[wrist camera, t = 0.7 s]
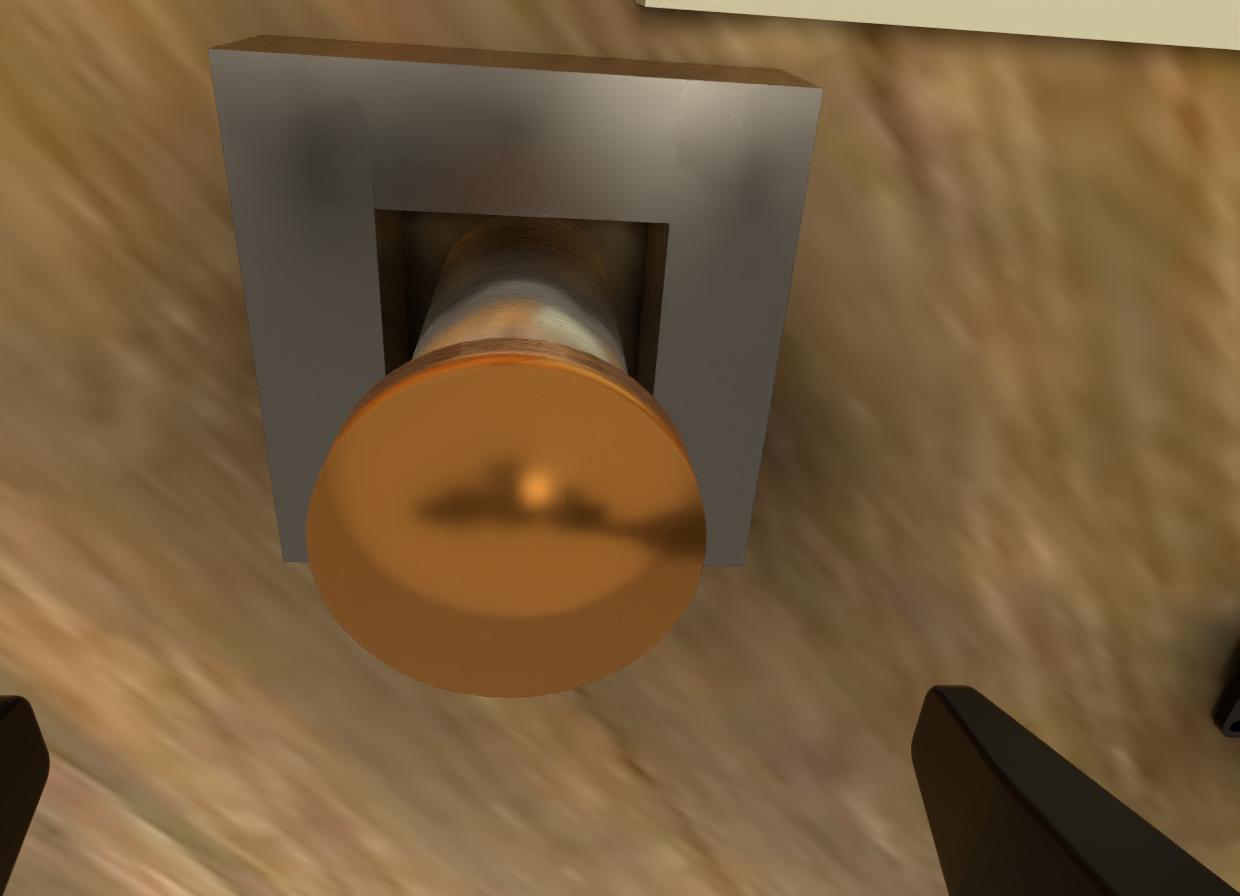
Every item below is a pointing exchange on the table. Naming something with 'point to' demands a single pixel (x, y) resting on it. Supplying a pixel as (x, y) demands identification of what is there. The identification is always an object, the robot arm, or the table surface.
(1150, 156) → the table surface
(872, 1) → the tray
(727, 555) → the block
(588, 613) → the light grey cylindrical piece
